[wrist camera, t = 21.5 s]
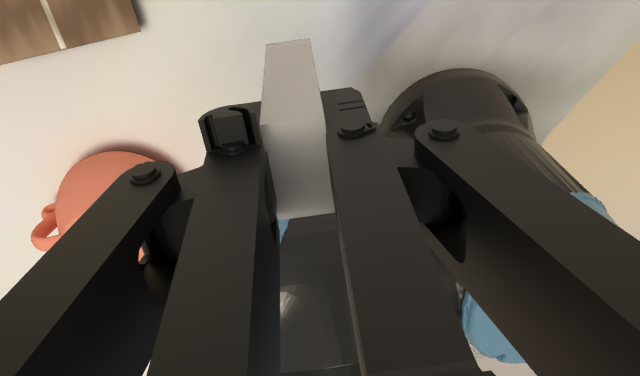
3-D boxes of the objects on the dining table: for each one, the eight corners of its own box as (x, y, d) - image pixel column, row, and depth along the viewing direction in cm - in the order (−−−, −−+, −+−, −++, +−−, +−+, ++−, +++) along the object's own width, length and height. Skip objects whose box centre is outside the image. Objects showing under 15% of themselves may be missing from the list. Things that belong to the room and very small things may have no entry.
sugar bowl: (200, 236, 53) (185, 304, 45) (71, 242, 53) (31, 312, 44) (183, 137, 47) (161, 194, 38) (35, 142, 46) (-21, 202, 37)
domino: (141, 31, 39) (-21, 70, 36) (137, 26, 41) (-17, 63, 37) (114, -49, 36) (-67, -16, 32) (111, -51, 38) (-61, -19, 34)
